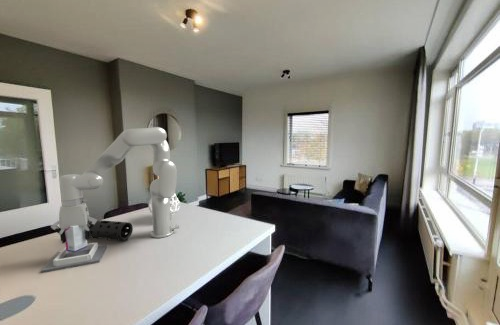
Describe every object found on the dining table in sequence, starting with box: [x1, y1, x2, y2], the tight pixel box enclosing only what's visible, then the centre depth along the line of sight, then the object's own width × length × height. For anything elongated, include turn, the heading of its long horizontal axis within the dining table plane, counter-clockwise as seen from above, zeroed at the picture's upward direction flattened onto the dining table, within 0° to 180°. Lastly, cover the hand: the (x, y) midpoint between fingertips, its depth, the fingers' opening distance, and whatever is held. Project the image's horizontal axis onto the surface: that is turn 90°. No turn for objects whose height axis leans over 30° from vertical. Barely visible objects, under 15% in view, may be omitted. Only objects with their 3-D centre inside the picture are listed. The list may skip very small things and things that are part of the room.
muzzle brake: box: [88, 219, 134, 242], centre depth 119 cm, size 10×28×10 cm, turn 78°
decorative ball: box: [147, 192, 181, 218], centre depth 148 cm, size 20×20×19 cm
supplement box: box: [65, 225, 88, 252], centre depth 99 cm, size 6×6×12 cm
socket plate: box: [40, 242, 108, 274], centre depth 99 cm, size 20×16×4 cm
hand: (76, 239), depth 99 cm, fingers closed on supplement box, 7 cm apart
